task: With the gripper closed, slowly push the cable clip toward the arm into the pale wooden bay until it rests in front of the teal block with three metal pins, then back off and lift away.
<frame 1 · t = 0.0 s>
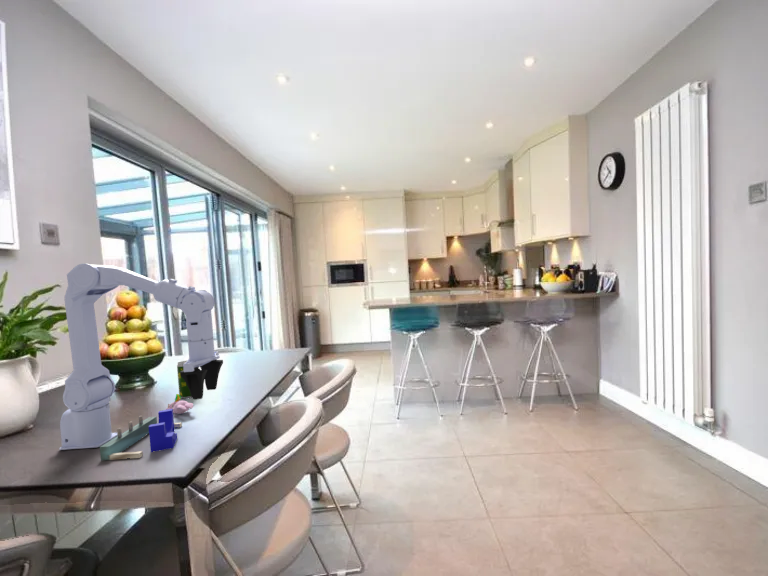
hand: (204, 393, 94), 10 cm above the table, tool pointing down, fingers open, 7 cm apart
pin bay: (146, 441, 92), on the table
cable clip: (167, 441, 92), on the table
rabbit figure: (180, 414, 112), on the table
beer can: (188, 397, 129), on the table
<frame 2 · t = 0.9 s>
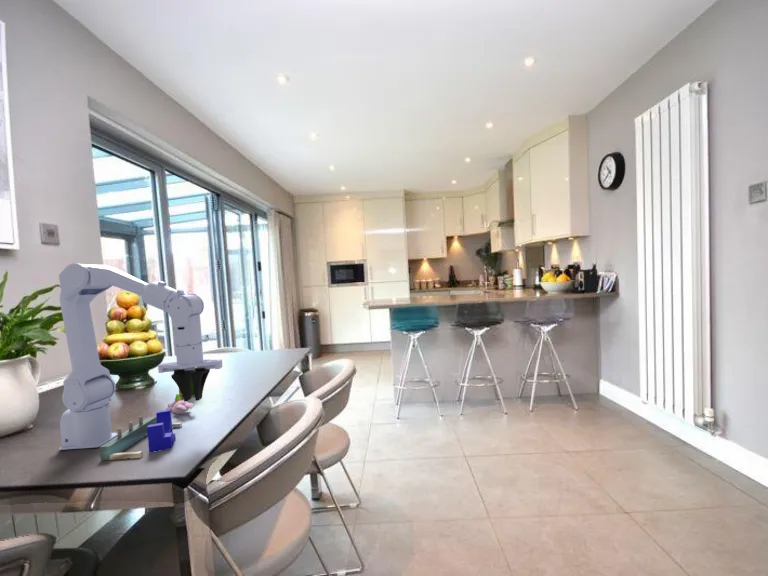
hand: (193, 399, 92), 9 cm above the table, tool pointing down, fingers closed
nothing on the table moved.
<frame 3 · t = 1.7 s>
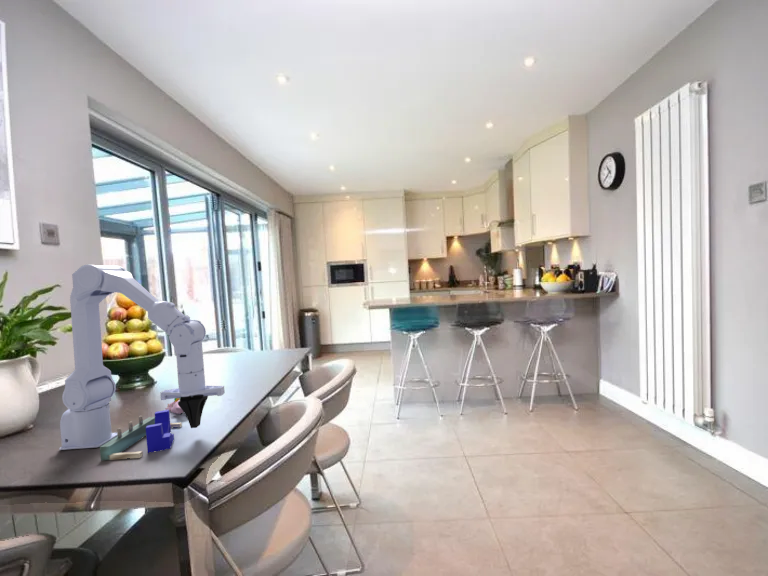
hand: (195, 426, 92), 3 cm above the table, tool pointing down, fingers closed
nothing on the table moved.
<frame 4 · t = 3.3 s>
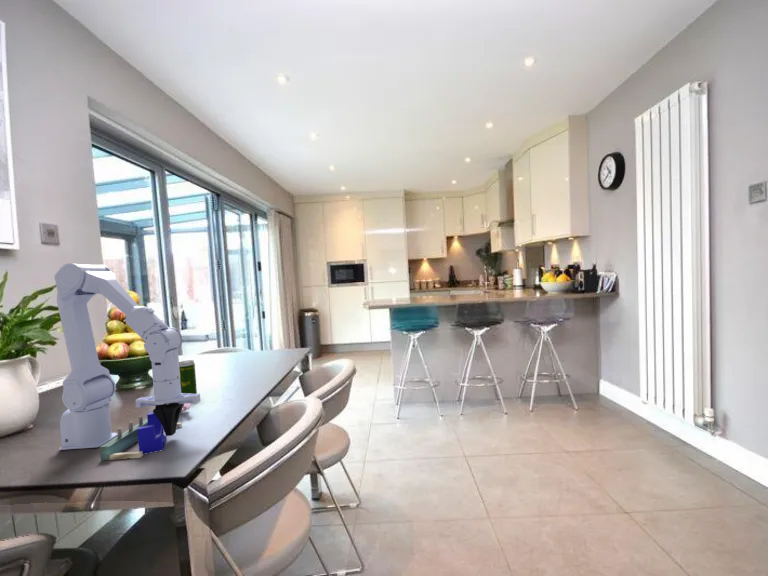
hand: (170, 434, 92), 1 cm above the table, tool pointing down, fingers closed
cable clip: (156, 444, 91), on the table, touching gripper
everything else where it was.
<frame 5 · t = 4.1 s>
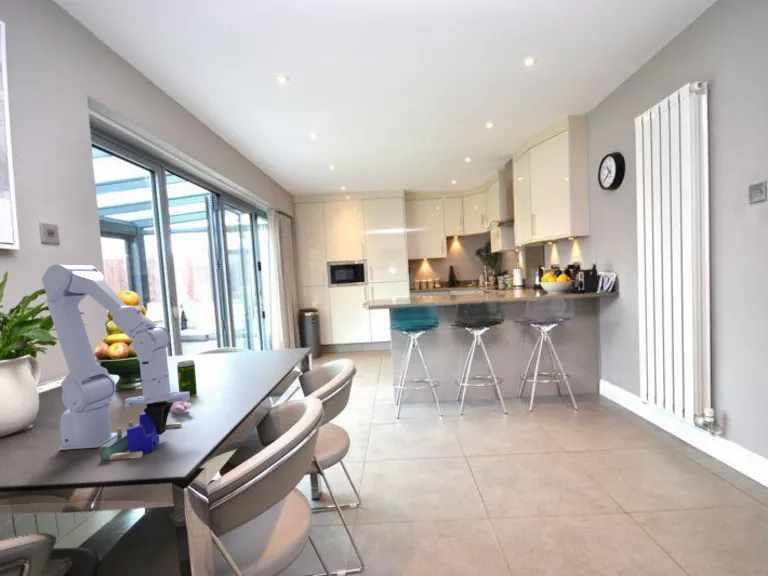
hand: (161, 433, 92), 2 cm above the table, tool pointing down, fingers closed, pressing on cable clip
cable clip: (148, 444, 91), on the table, touching gripper, pin bay
everything else where it was.
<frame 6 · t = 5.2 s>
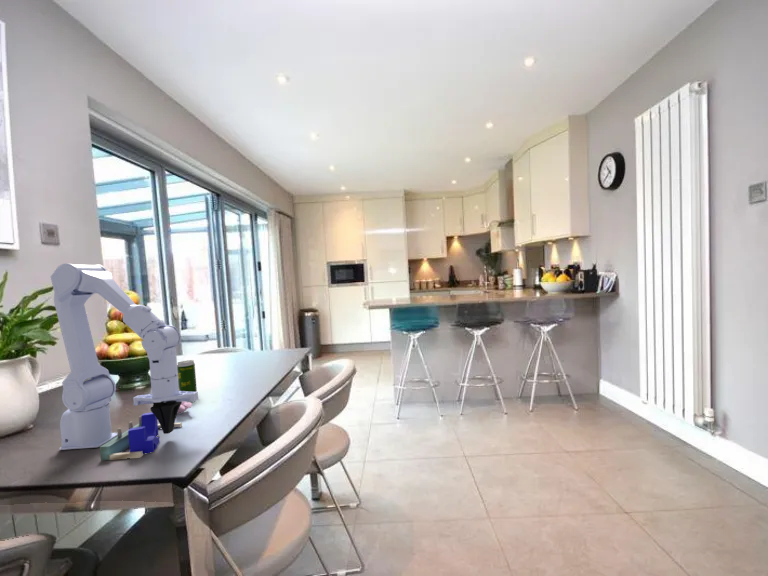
hand: (168, 432, 92), 2 cm above the table, tool pointing down, fingers closed
cable clip: (149, 445, 91), on the table
everything else where it was.
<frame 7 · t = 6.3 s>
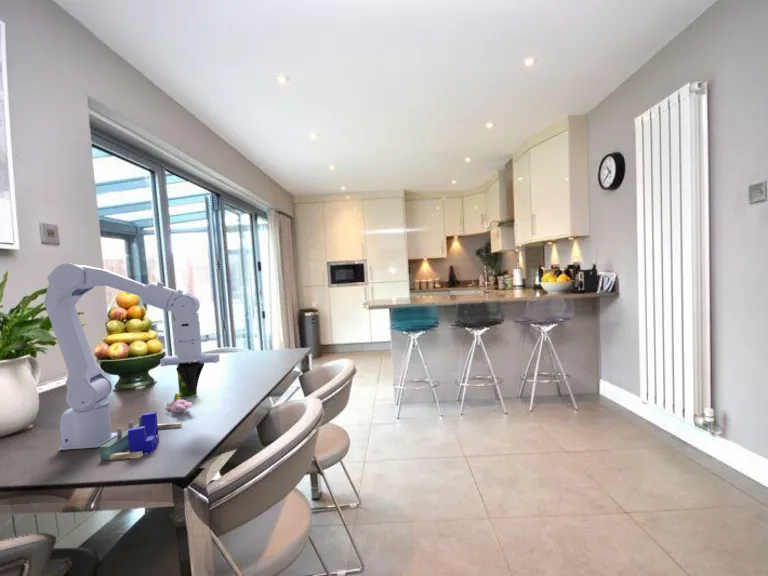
hand: (192, 391, 100), 9 cm above the table, tool pointing down, fingers closed
cable clip: (148, 445, 91), on the table, touching pin bay
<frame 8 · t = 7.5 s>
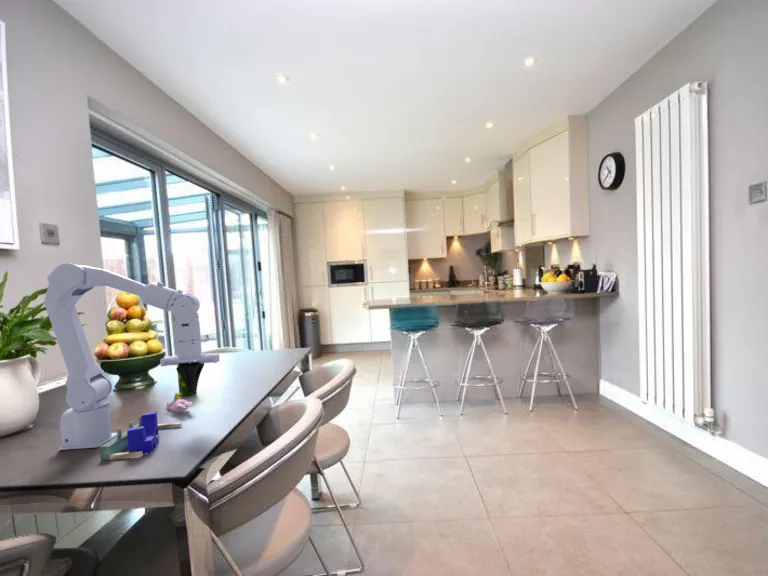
hand: (192, 391, 100), 9 cm above the table, tool pointing down, fingers closed
cable clip: (148, 445, 91), on the table
at the end: cable clip 2.5 cm off-centre on the pin bay, point 0.0 cm above the pin bay's base; cable clip tilted 0°; cable clip moved 3.9 cm from its start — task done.
